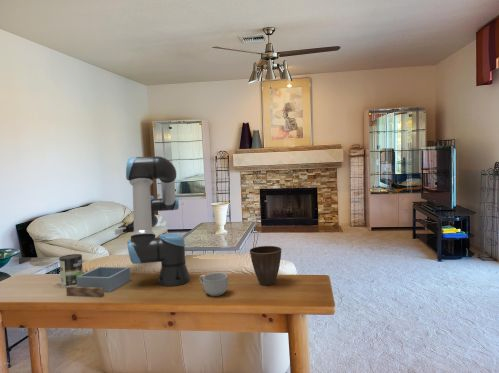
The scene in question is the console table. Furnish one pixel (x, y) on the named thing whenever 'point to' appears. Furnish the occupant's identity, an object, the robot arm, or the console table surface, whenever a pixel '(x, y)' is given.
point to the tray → (104, 278)
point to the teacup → (215, 283)
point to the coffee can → (70, 269)
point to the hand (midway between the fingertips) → (117, 232)
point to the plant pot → (266, 263)
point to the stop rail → (85, 291)
